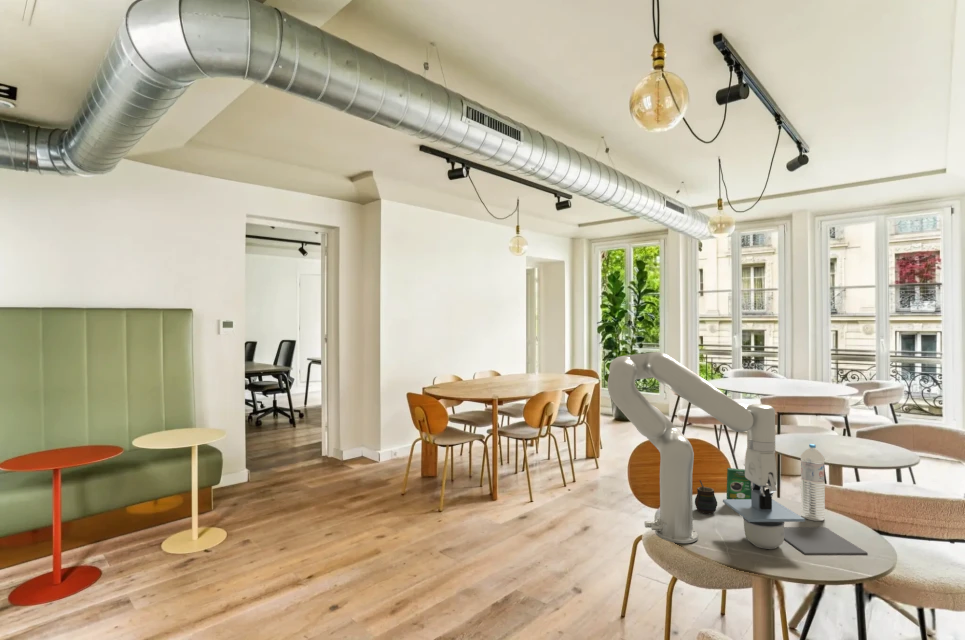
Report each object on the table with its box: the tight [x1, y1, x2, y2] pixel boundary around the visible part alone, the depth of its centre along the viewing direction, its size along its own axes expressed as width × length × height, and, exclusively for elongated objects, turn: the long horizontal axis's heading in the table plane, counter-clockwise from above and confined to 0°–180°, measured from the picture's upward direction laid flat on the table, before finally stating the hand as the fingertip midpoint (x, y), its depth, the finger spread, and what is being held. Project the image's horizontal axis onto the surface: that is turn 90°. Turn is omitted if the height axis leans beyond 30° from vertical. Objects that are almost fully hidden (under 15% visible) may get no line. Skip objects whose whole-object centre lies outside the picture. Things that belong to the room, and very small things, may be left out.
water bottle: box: [800, 443, 826, 522], centre depth 171 cm, size 7×7×25 cm
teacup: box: [742, 517, 785, 550], centre depth 152 cm, size 14×11×8 cm
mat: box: [784, 526, 868, 556], centre depth 153 cm, size 18×18×1 cm
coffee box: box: [726, 467, 751, 499], centre depth 183 cm, size 8×3×13 cm, turn 75°
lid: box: [722, 490, 806, 523], centre depth 152 cm, size 16×16×6 cm
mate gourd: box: [694, 479, 718, 515], centre depth 177 cm, size 7×8×10 cm
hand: (761, 505), depth 152 cm, fingers closed on lid, 4 cm apart
